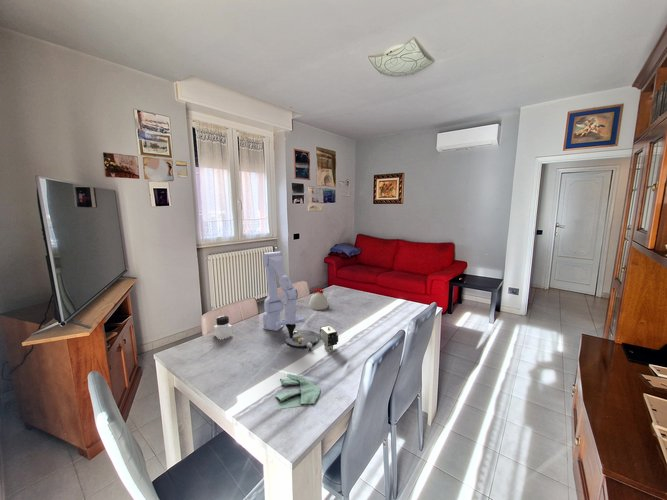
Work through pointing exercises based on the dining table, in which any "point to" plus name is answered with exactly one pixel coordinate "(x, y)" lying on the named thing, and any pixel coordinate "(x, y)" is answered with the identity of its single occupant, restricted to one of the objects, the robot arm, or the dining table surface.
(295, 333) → the cover
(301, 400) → the cloth
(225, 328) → the medicine bottle
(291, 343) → the turntable
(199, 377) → the dining table surface
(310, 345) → the silver oval knob
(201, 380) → the dining table surface
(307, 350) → the base plate
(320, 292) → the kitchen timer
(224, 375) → the dining table surface
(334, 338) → the pneumatic valve
